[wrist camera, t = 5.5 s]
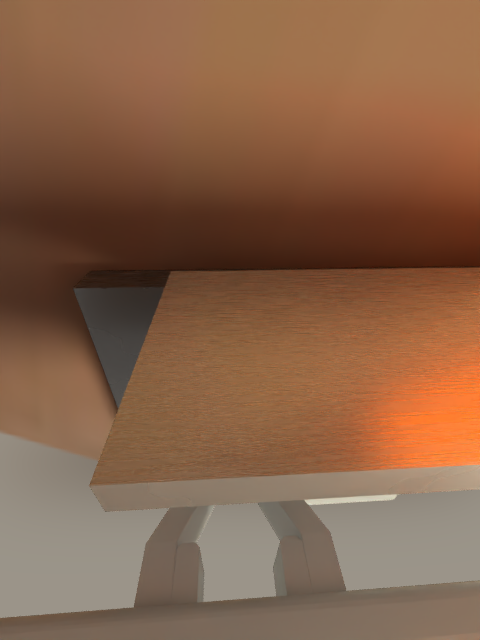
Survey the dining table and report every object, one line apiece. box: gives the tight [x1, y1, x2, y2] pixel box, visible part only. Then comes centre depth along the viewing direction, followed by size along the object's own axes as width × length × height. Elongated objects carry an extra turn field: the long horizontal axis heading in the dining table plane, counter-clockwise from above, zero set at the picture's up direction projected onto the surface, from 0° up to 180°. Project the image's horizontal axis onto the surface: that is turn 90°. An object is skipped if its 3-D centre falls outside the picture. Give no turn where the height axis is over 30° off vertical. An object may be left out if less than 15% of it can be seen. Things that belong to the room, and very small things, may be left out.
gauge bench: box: [73, 266, 480, 512], centre depth 11 cm, size 24×11×8 cm, turn 89°
